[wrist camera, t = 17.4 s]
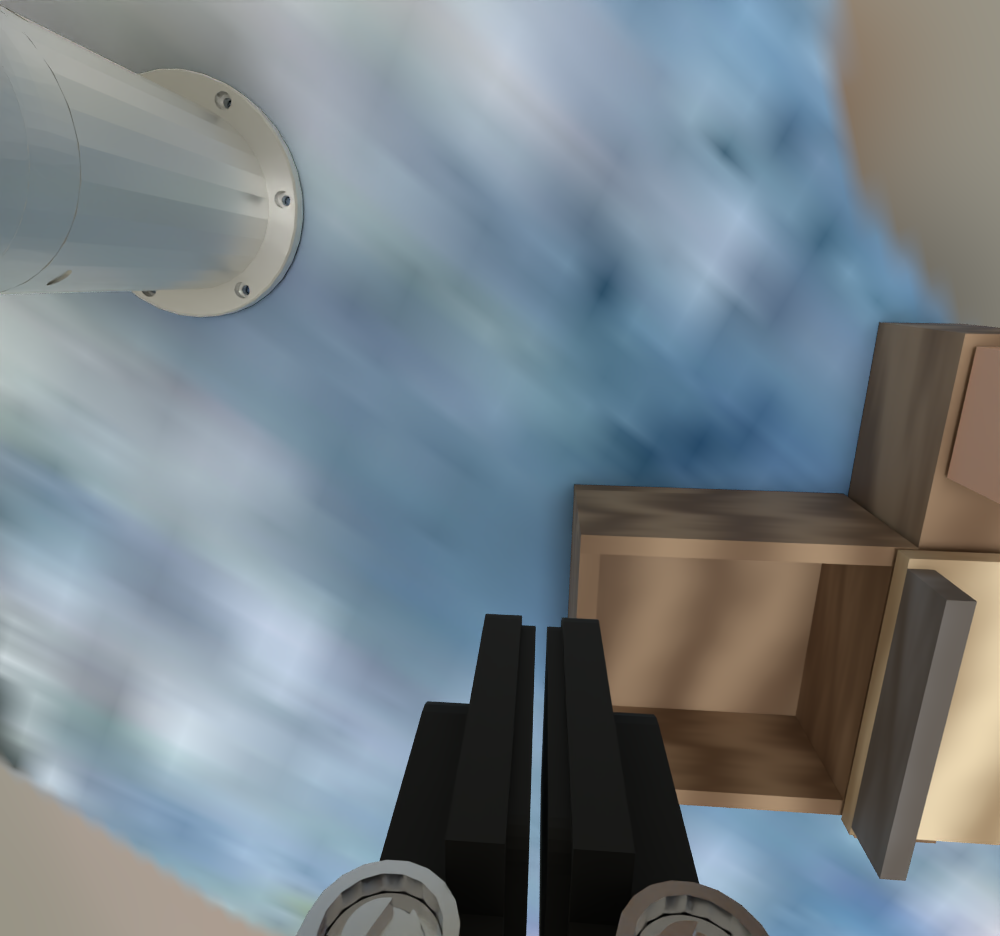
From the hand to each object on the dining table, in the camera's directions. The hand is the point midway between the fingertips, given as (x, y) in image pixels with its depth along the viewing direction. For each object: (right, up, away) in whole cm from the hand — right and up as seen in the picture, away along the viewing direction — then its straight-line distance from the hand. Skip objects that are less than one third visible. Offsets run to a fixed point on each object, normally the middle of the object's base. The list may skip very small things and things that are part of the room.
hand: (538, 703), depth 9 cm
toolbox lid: (+26, -8, +22) cm, 35 cm away
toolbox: (+14, -2, +30) cm, 33 cm away
